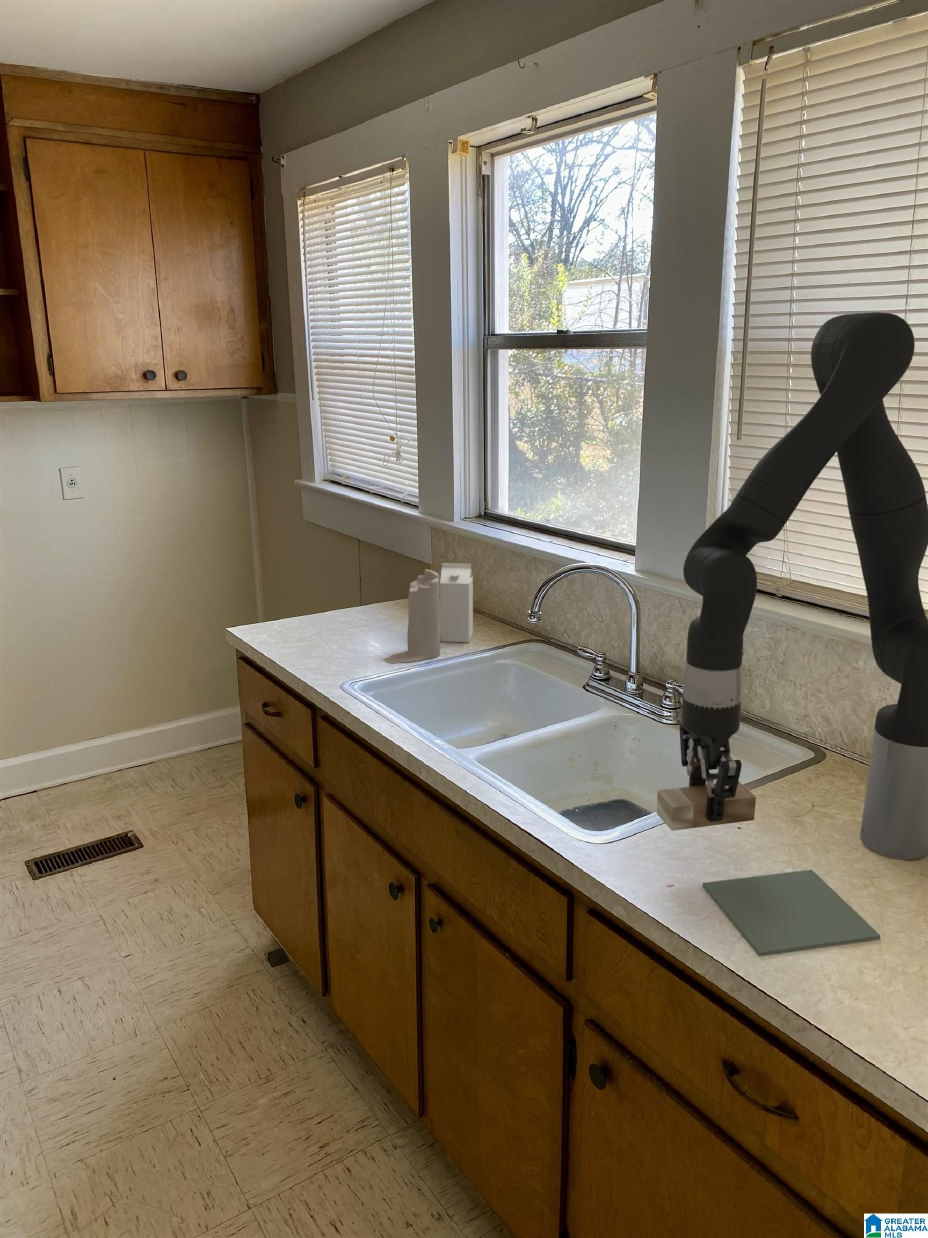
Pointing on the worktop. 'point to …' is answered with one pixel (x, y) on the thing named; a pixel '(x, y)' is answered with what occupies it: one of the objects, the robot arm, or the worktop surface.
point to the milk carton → (456, 602)
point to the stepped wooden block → (702, 807)
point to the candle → (422, 620)
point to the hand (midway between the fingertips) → (705, 810)
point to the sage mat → (789, 912)
